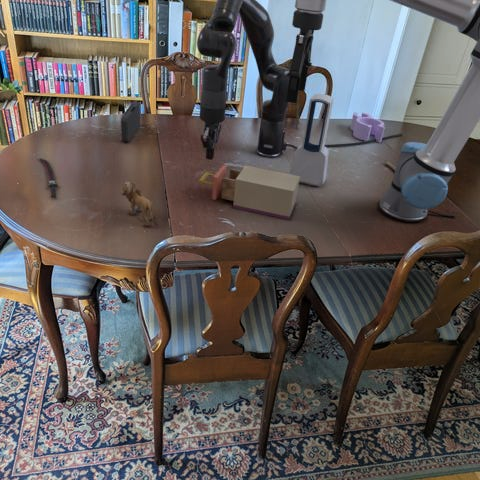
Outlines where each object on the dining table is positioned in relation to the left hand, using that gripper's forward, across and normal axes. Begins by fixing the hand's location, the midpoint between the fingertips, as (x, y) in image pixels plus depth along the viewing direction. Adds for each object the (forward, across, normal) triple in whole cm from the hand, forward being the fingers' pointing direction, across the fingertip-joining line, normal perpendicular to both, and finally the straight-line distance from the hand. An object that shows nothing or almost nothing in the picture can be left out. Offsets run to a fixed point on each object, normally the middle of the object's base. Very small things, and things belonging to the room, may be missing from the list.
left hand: (209, 158), depth 146 cm
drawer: (+11, 0, +9) cm, 14 cm away
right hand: (-24, 0, +24) cm, 33 cm away
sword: (+12, +13, -51) cm, 54 cm away
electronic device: (+12, -24, +29) cm, 40 cm away
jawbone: (+12, -51, +65) cm, 84 cm away
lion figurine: (+12, +23, -13) cm, 29 cm away
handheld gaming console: (+12, -36, -46) cm, 60 cm away
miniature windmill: (+12, -82, +12) cm, 84 cm away
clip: (+12, -87, +46) cm, 100 cm away
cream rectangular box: (+12, 0, +19) cm, 23 cm away
